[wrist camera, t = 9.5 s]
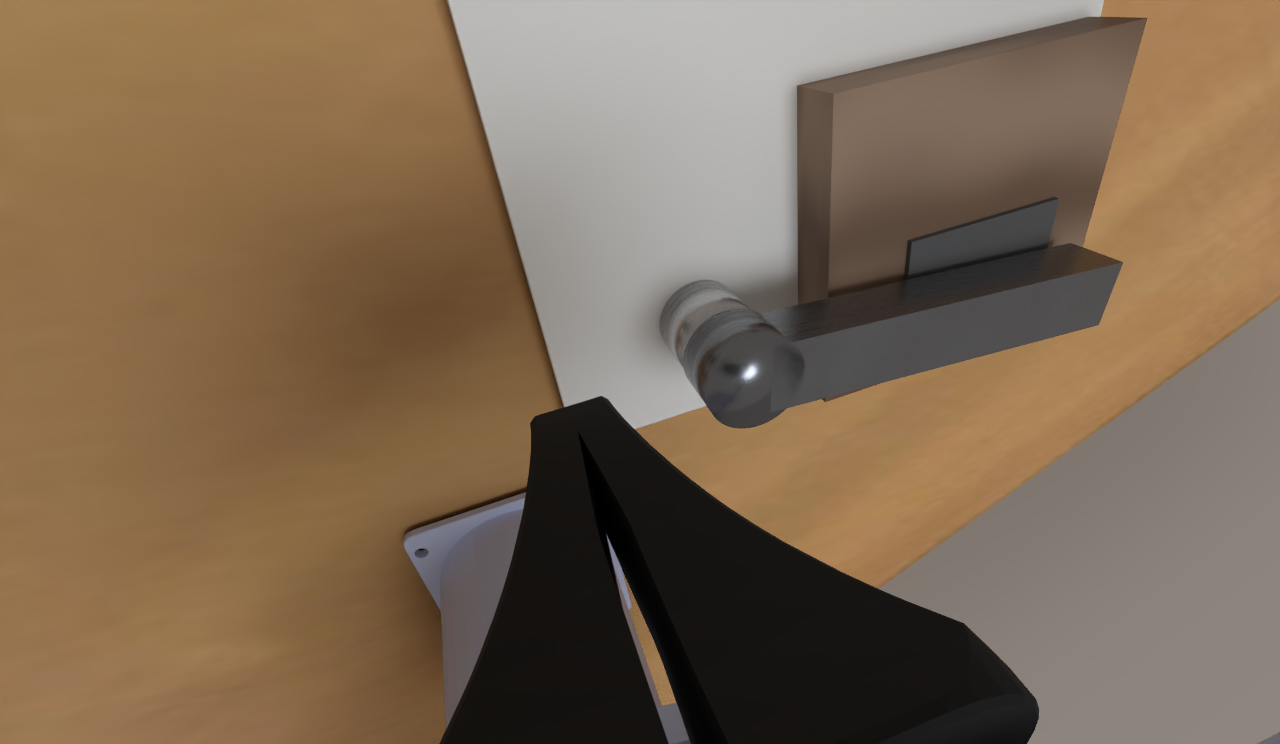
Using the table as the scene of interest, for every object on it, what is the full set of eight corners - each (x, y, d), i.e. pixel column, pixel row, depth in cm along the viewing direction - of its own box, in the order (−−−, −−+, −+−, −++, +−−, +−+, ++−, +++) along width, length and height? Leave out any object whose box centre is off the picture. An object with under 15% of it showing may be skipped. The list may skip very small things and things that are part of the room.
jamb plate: (1013, 290, 27) (1031, 299, 26) (571, 432, 24) (576, 448, 23) (1160, -373, 16) (1199, -392, 15) (363, -289, 13) (359, -309, 12)
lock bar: (684, 403, 20) (708, 439, 18) (681, 319, 18) (706, 350, 17) (1047, 311, 23) (1094, 334, 22) (1074, 232, 22) (1127, 250, 20)
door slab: (1021, 302, 26) (1061, 322, 25) (798, 375, 25) (825, 401, 23) (1088, 16, 20) (1147, 18, 19) (796, 85, 18) (833, 93, 17)
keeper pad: (1032, 287, 23) (1036, 289, 23) (898, 331, 22) (901, 333, 22) (1054, 197, 21) (1059, 198, 21) (907, 240, 20) (911, 242, 20)
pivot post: (738, 341, 23) (766, 370, 21) (665, 364, 22) (686, 395, 20) (734, 270, 21) (763, 294, 19) (654, 293, 21) (676, 320, 19)
